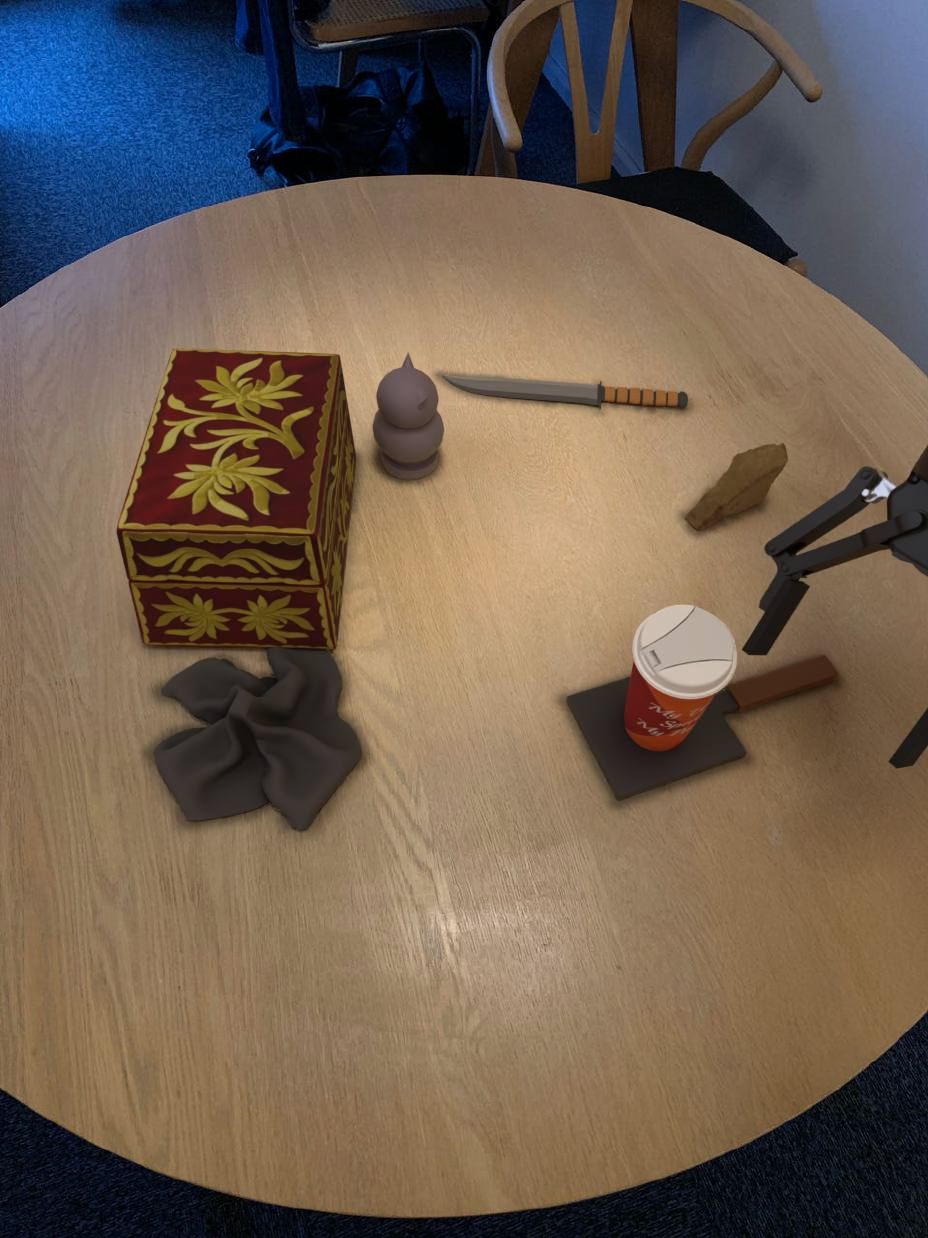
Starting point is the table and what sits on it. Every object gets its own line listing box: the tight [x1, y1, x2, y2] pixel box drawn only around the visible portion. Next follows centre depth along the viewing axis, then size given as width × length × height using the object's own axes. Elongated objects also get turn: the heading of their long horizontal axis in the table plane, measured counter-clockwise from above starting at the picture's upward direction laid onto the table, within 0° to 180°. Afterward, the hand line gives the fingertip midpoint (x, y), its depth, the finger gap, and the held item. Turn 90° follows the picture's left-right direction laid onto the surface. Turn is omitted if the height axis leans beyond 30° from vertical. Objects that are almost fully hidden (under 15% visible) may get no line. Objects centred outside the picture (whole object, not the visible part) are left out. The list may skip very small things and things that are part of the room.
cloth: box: [153, 647, 363, 830], centre depth 83 cm, size 22×19×6 cm
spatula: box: [566, 654, 840, 801], centre depth 88 cm, size 11×26×1 cm, turn 111°
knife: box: [441, 374, 689, 410], centre depth 114 cm, size 30×1×5 cm
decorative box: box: [116, 348, 357, 650], centre depth 92 cm, size 28×19×15 cm
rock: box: [685, 442, 789, 531], centre depth 102 cm, size 11×9×10 cm
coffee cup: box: [624, 604, 738, 751], centre depth 79 cm, size 8×8×15 cm
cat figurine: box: [372, 352, 445, 481], centre depth 102 cm, size 8×8×12 cm
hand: (822, 705), depth 69 cm, fingers open, 13 cm apart
